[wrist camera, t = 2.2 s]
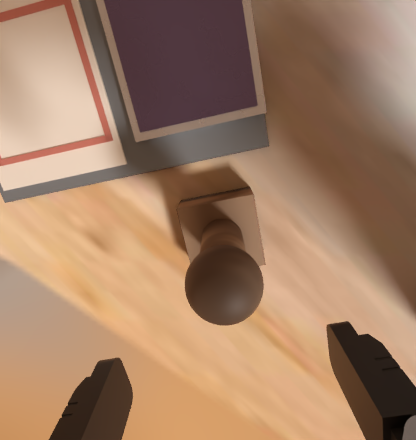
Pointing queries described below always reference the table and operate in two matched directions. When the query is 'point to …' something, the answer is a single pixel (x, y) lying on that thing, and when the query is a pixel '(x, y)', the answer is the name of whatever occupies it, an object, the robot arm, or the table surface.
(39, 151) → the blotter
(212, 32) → the ink pad
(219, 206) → the stamp
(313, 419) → the table surface
